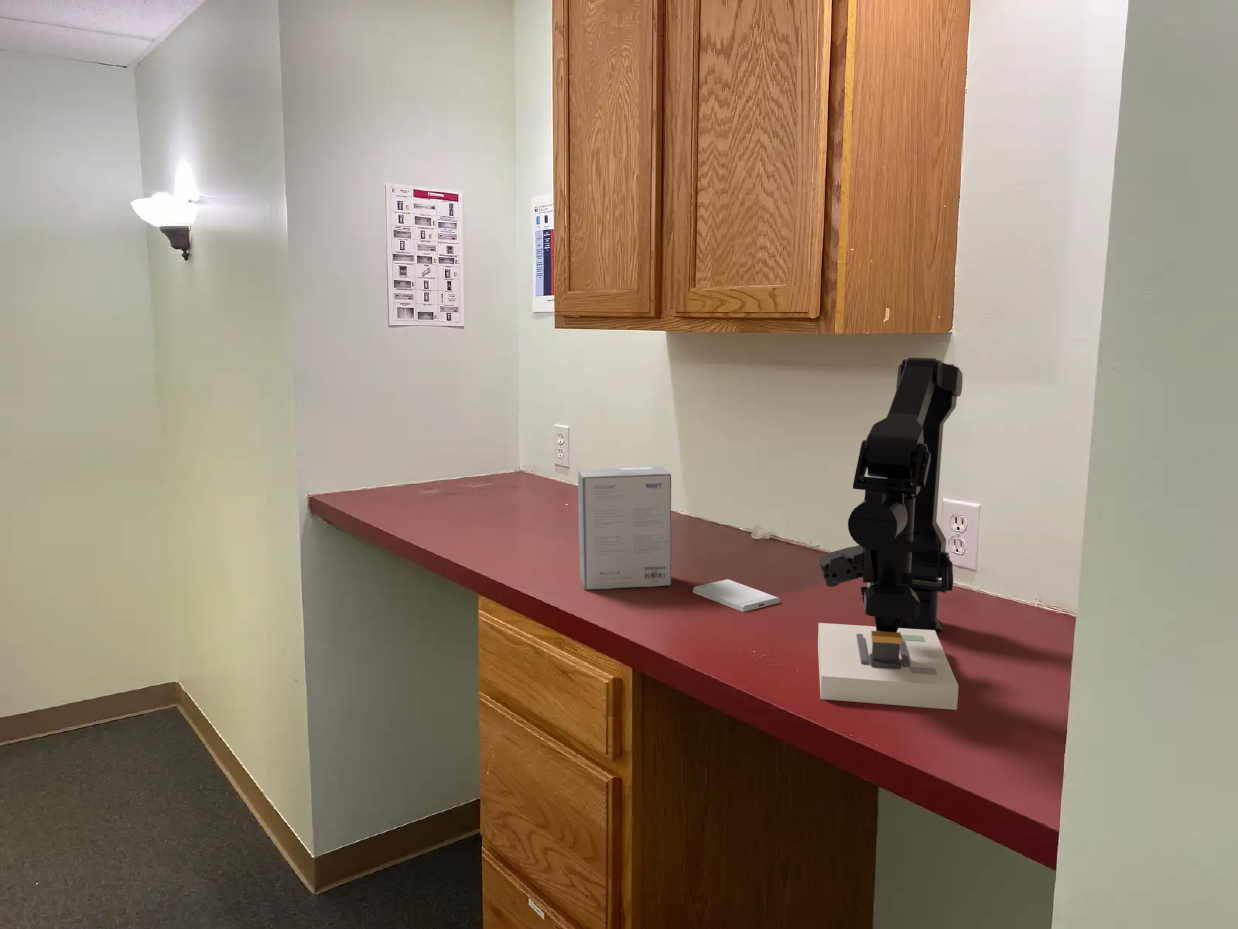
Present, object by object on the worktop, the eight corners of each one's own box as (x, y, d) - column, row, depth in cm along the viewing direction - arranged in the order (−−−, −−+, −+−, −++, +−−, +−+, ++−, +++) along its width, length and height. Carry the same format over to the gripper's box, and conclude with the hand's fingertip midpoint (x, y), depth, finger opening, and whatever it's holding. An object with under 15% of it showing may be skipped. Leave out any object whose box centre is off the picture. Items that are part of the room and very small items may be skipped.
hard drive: (692, 586, 156) (743, 605, 146) (729, 578, 161) (780, 596, 151) (692, 596, 157) (743, 615, 147) (728, 587, 161) (779, 605, 151)
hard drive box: (663, 574, 167) (664, 466, 164) (671, 587, 160) (673, 473, 156) (578, 578, 165) (577, 468, 162) (583, 590, 157) (582, 476, 154)
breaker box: (817, 642, 133) (818, 619, 132) (933, 650, 130) (935, 627, 129) (820, 699, 113) (821, 672, 113) (956, 710, 110) (958, 682, 110)
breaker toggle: (869, 657, 119) (870, 629, 118) (898, 659, 118) (899, 631, 118) (871, 666, 116) (872, 637, 115) (900, 668, 115) (902, 639, 114)
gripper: (823, 511, 127) (818, 619, 130) (826, 546, 109) (820, 670, 112) (907, 515, 125) (900, 624, 128) (924, 552, 107) (915, 678, 110)
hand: (882, 647), depth 119 cm, fingers closed
